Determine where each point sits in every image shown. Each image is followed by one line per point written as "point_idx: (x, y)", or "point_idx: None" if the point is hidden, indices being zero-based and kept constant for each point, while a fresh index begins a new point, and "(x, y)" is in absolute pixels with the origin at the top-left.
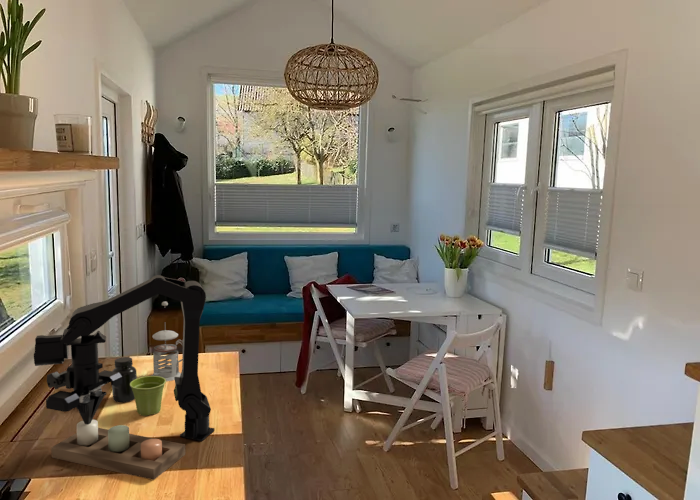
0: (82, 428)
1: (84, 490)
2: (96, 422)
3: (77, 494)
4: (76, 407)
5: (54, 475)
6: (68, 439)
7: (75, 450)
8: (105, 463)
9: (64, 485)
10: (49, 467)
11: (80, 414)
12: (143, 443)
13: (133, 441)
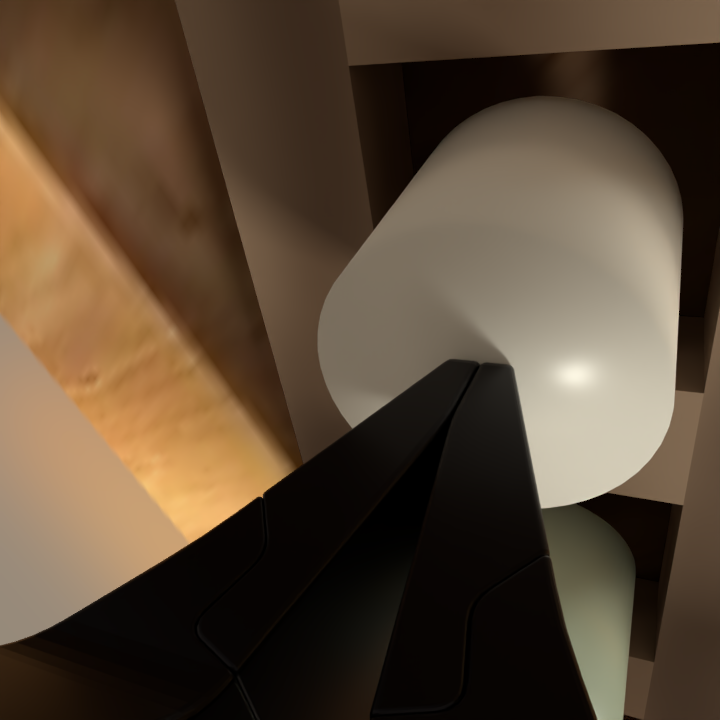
0: (337, 394)
1: (162, 477)
2: (571, 490)
3: (125, 465)
4: (113, 596)
5: (117, 230)
6: None
7: (282, 282)
8: None
9: (114, 365)
10: (137, 92)
11: (301, 474)
12: None
13: (660, 632)
